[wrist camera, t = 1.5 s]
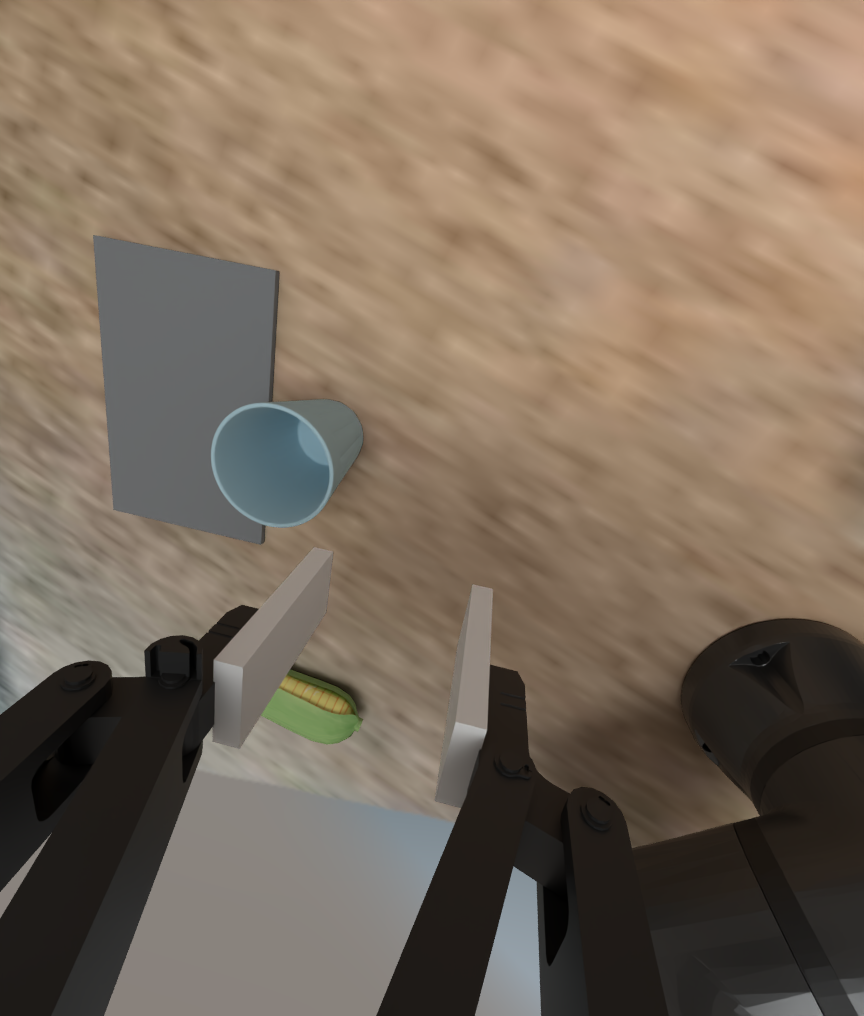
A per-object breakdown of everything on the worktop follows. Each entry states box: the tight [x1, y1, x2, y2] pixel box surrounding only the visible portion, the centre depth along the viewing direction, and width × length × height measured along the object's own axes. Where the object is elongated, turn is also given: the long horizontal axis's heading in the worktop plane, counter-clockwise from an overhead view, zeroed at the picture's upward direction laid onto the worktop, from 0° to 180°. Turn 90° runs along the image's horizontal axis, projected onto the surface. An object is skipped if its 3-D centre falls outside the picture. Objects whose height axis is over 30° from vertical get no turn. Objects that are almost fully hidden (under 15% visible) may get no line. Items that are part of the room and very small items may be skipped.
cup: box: [211, 399, 363, 528], centre depth 33 cm, size 8×8×10 cm
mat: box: [93, 235, 279, 545], centre depth 38 cm, size 14×22×1 cm, turn 170°
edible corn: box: [261, 670, 363, 744], centre depth 45 cm, size 5×20×4 cm
